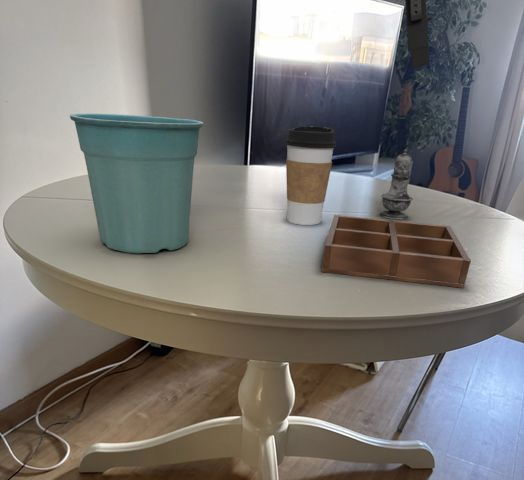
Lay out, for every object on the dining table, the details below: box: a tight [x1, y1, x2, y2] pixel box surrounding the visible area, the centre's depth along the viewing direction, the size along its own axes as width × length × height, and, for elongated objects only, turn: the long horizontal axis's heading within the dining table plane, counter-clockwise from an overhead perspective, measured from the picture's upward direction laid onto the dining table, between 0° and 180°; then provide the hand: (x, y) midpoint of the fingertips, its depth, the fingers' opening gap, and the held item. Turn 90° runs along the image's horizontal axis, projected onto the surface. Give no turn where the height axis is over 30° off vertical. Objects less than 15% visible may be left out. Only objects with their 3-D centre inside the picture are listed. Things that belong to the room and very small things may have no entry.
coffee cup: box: [284, 125, 337, 226], centre depth 81 cm, size 8×8×15 cm
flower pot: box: [69, 113, 204, 254], centre depth 65 cm, size 16×16×16 cm
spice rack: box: [321, 214, 472, 289], centre depth 66 cm, size 17×17×4 cm
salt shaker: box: [379, 148, 414, 220], centre depth 89 cm, size 6×6×12 cm
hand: (419, 58), depth 76 cm, fingers open, 13 cm apart
